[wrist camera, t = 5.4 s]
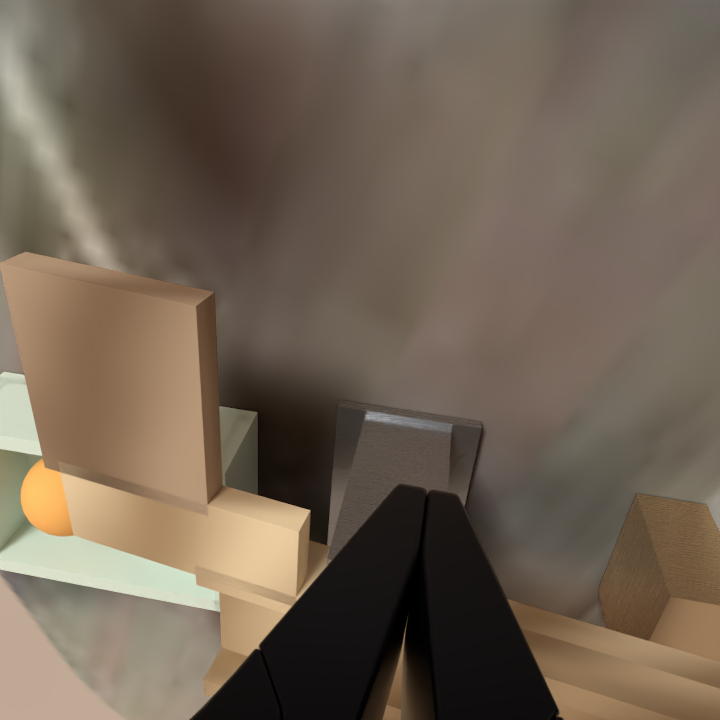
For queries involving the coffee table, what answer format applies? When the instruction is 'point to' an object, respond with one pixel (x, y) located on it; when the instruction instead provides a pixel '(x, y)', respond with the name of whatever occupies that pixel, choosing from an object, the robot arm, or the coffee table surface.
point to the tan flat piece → (235, 507)
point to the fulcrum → (452, 474)
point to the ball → (46, 501)
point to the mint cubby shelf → (86, 558)
